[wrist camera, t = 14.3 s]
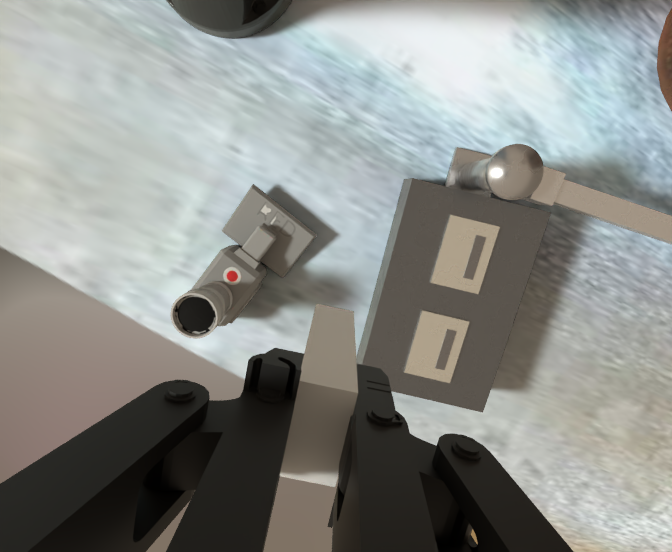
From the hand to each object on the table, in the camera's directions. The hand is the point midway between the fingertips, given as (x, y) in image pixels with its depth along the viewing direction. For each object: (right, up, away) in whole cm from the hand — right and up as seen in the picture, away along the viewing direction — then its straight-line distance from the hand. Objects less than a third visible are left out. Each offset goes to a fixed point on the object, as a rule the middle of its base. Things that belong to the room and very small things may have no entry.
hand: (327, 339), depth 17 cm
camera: (-10, +4, +33) cm, 35 cm away
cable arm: (+28, +7, +22) cm, 37 cm away
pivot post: (+15, +13, +30) cm, 36 cm away
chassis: (+12, +1, +33) cm, 35 cm away
